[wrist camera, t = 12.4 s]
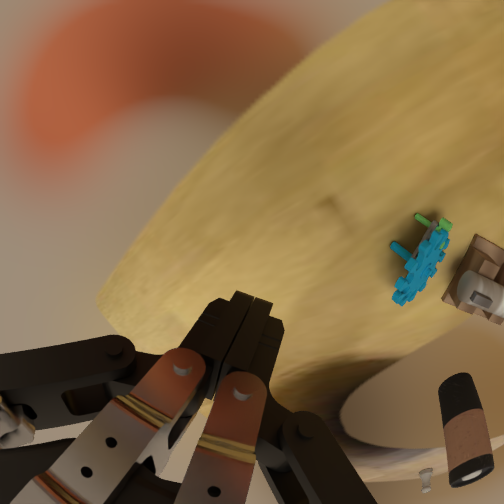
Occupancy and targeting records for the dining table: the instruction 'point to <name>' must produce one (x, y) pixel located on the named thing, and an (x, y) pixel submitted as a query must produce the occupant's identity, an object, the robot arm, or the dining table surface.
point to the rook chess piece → (426, 479)
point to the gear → (421, 259)
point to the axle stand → (479, 281)
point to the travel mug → (464, 431)
